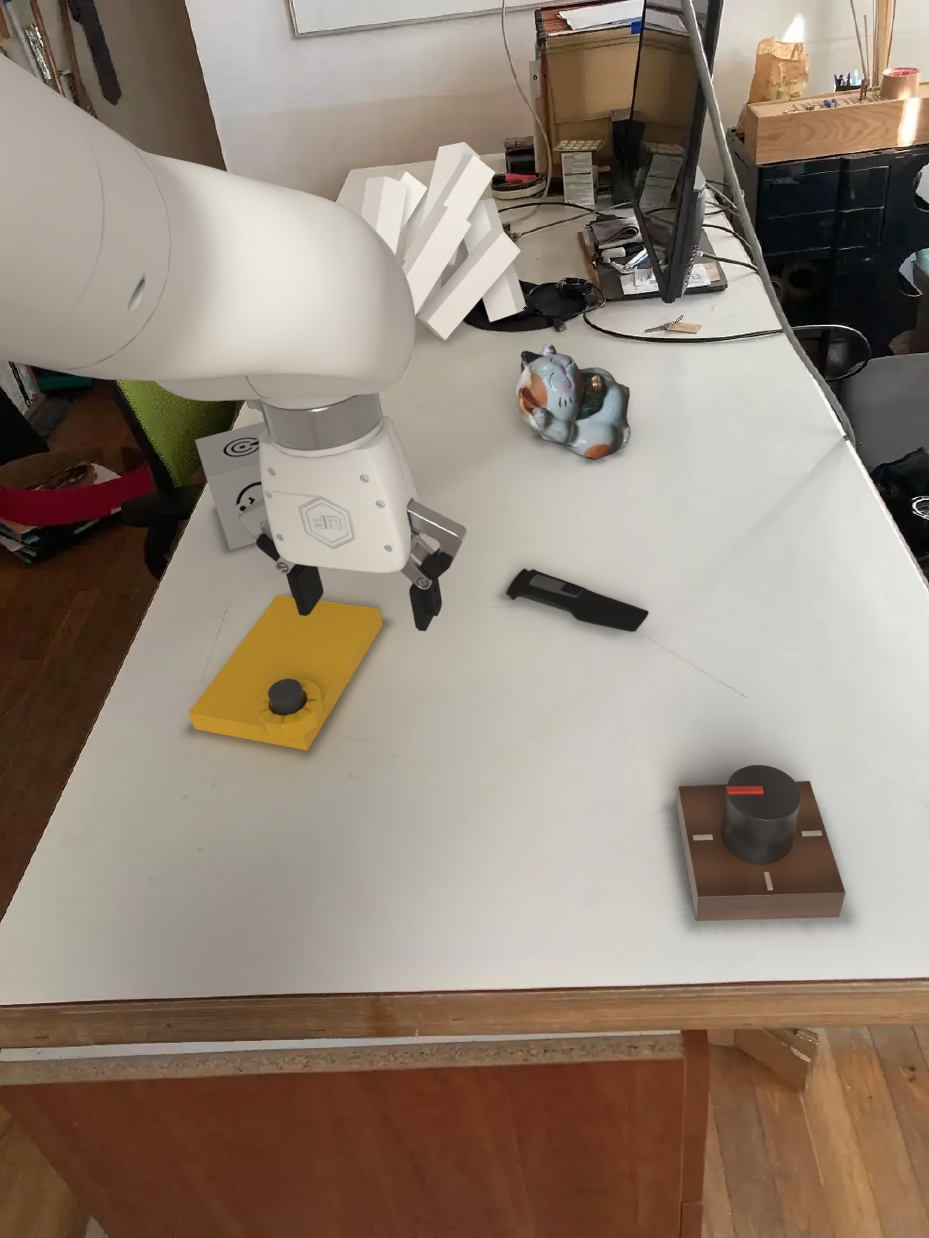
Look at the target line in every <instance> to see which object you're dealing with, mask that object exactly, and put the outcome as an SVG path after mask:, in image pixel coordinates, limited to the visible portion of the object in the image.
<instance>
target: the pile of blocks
mask: <svg viewBox="0 0 929 1238" xmlns="http://www.w3.org/2000/svg"><path fill="white" fill-rule="evenodd" d="M495 174H496V171H494V170H493V169H492V168H491V167H489V166H488V164H486V163H484V162H483V161H482V160H481V156H480V155H479V154H478V153H477V152H476V151H475V150H474V149H473V148H472V147H471V146H469V144H468V143H466V141H462V142H457V143H452V144H446V145H441V146H439V147H438V150H437V153H436V159H435V163H434V167H433V170H432V175H431V178H430V184H429V187H427V186H426V185H424V184H423V183H422V182H420V180H418V179H417V178H416V177H415V176H413V175H412V174H411V173H409V172H408V171H406V170H398V172H397V174H396V176H395V177H394V178H392V177H390V176H386V175H383V176H375V177H368V178H366V181H365V188H364V194H363V200H362V207H361V212H360V216H361V217H362V218H363V219H364V220H365V221H366V222H368V223H369V224H370V225H371V226H372V227H373V229H374V230H375V231H376V232H377V233H378V234H379V235H380V236H381V237H382V238H383V239H384V241H385V242H386V243H387V244H388V245H389V247H390V248H391V249H392V251H393V253H394V254H395V256H396V255H397V250H398V244H399V238H400V234H401V232H402V231H403V229H404V227H405V226H406V232H405V233H406V234H405V243H404V244H405V245H404V253H403V255H402V257H401V260H402V261H403V263H402V266H401V267H402V269H403V271H404V273H405V275H406V278H407V280H408V283H409V286H410V289H411V293H412V297H413V302H414V308H415V318H417V319H418V320H419V321H420V322H421V323H422V324H423V325H424V326H425V327H426V328H427V329H428V330H430V332H432V334H433V335H435V336H436V337H437V338H440V339H442V340H444V341H446V340H447V339H449V337H450V336H451V334H452V333H453V332H454V330H455V329H457V327H458V326H459V325H460V323H461V322H462V321H463V320H464V319H465V318H466V316H468V314H469V313H470V312H471V310H473V308H475V306H476V305H477V304H478V302H479V301H480V300H481V299H482V302H483V304H484V308H485V311H486V314H487V316H488V321H489V323H492V322H495V321H498V320H502V319H504V318H506V317H510V316H512V315H516V314H518V313H521V312H523V311H525V310H524V309H523V308H524V307H525V306H526V307H527V304H526V301H525V297H524V293H523V291H522V287H521V284H520V280H519V277H518V275H517V271H516V268H515V264H514V260H515V259H516V257H517V256H518V255H519V254H520V253H521V249H520V248H519V247H518V246H517V245H516V244H515V243H514V242H513V241H512V239H511V238H510V237H509V236H508V235H507V233H506V232H505V231H504V227H503V224H502V221H501V217H500V214H499V211H498V208H497V205H496V201H495V198H487V199H481V197H482V195H483V193H484V192H485V190H486V189H487V187H488V185H489V183H490V182H491V181H492V179H493V177H494V175H495ZM427 190H428V191H427ZM426 192H427V196H424V194H425V193H426ZM423 196H424V197H423ZM396 257H397V256H396Z"/></svg>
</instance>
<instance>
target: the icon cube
mask: <svg viewBox="0 0 929 1238" xmlns="http://www.w3.org/2000/svg"><path fill="white" fill-rule="evenodd" d="M265 427H267V426H266V425H265V422H264V421H262V422H261V421H260V422H258V423H254V424H250V425H246V426H242V427H238V428H235V429H231V430H227V431H224V432H220V433H216V434H215V433H214V434H212V435H208V436H204V437H201V438H197V439H194V441H195V445H196V448H197V451H198V455H199V458H200V461H201V465H202V468H203V472H204V474H205V475H204V476H205V478H206V481H207V484H208V487H209V490H210V494H211V496H212V499H213V502H214V505H215V508H216V511H217V514H218V517H219V520H220V523H221V526H222V529H223V532H224V535H225V538H226V542H227V544H228V548H229V550H230V551H232V550H236V549H239V548H243V547H246V546H249V545H254V544H256V539H255V537H252V536H251V535H250V533H249V532H248V531H247V530H246V529H245V527H244V526H243V525H242V524H241V522H240V521H239V516H240V515H241V514H242V512H243V511H244V510H245V509H246V508H247V507H248V506H250V505H252V504H254V503H256V502H258V501H260V500H262V499H264V496H263V489H262V482H261V473H260V459H259V435H260V433H261V431H262V430H263V429H264V428H265Z"/></svg>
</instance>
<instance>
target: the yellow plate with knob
mask: <svg viewBox="0 0 929 1238" xmlns="http://www.w3.org/2000/svg"><path fill="white" fill-rule="evenodd" d="M382 617H383V616H382V613H381V609H380V608H379V607H372V606H366V605H365V606H364V605H356V604H349V603H348V604H347V603H342V602H336V601H335V602H334V601H328V600H321V599H320V600H319V601H318V603H317V604H316V606H315V607H314V609H313V610H312V612H311V613H310V614H309V615H307V616H302V615H299V613H298V609H297V606H296V602H295V599H294V598H293V597H292V596H288V595H281V594H276V596H275V597H274V598H273V600H272V601H271V602H270V604H269V605H268V607H267V608H266V609H265V611H263V613H262V614H261V616H260V617H259V619H258V620H257V621H256V622H255V623H254V625H253V626H252V627H251V629H250V630H249V632H248V633H247V635H246V636H245V637H244V638H243V640H242V641H241V642H240V644H239V645H237V648H236V649H235V650H234V651H233V653H232V654H231V656H229V659H228V660H227V661H226V662H225V663H224V665H223V666H222V668H221V669H220V670H219V671H218V673H217V674H216V676H215V677H214V678H213V680H211V682H210V683H209V685H208V686H207V688H206V689H205V690H204V691H203V693H202V695H201V696H199V698H198V700H197V701H196V702H195V704H194V705H193V706H192V708H191V709H190V710H189V712H188V717H189V718H190V721H191V723H192V726H193V728H194V729H195V730H198V731H202V732H207V733H213V734H219V735H223V736H228V737H234V738H239V739H244V740H249V741H254V742H260V743H265V744H271V745H276V746H280V747H281V746H282V747H287V748H292V749H297V750H303V751H309V749H310V747H311V746H312V744H313V742H314V741H315V739H316V737H317V736H318V734H319V733H320V731H321V729H322V727H323V726H324V724H325V722H326V721H327V719H328V717H329V716H330V714H331V712H332V711H333V710H334V707H335V706H336V704H337V702H338V701H339V699H340V698H341V696H342V694H343V692H344V691H345V689H346V687H347V685H348V684H349V683H350V681H351V679H352V677H353V675H354V674H355V672H356V671H357V669H358V668H359V665H360V664H361V662H362V661H363V659H364V657H365V656H366V654H367V652H368V650H369V649H370V647H371V646H372V644H373V642H374V640H375V639H376V637H377V635H378V634H379V632H380V630H381V629H382V627H383V625H384V621H383V618H382ZM283 679H294V680H297V681H298V682H299V683H300V684H301V687H302V690H303V693H304V697H305V705H304V707H303V708H302V709H301V710H299V711H297V712H296V713H294V714H290V715H285V716H282V715H278V714H276V713H275V712H274V711H273V708H272V705H271V702H270V699H269V696H268V691H269V689H270V687H271V686H272V685H273V684H274V683H276V682H278V681H280V680H283Z"/></svg>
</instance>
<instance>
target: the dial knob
mask: <svg viewBox="0 0 929 1238" xmlns="http://www.w3.org/2000/svg"><path fill="white" fill-rule="evenodd" d="M726 784H727V786H726V796H725V805H724V814H723V823H722V837H723V840H724V843H725V844H726V846H727V847H728V849H729V850H730V851H731V852H732V853H733V854H735V855H736V856H737V857H739V858H741V859H743V860H745V861H748V862H751V863H757V864H768V863H773V862H776V861H779V860H780V859H782V858H784V857H785V856H786V855H787V854H788V853H789V851H790V850H791V847H792V843H793V838H794V833H795V828H796V822H797V817H798V812H799V806H800V801H801V794H800V790H799V788H798V786H797V784H796V782H795V780H794V779H793V778H792V776H790V775H789V774H788V773H786V772H784V771H783V770H781V769H780V768H776V767H774V766H770V765H763V764H751V765H747V766H743V767H742V768H739V769H737V770H736V771H735V772H733V773H732V774H731V775H730V777H729V779H728V781H727V783H726Z"/></svg>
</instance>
